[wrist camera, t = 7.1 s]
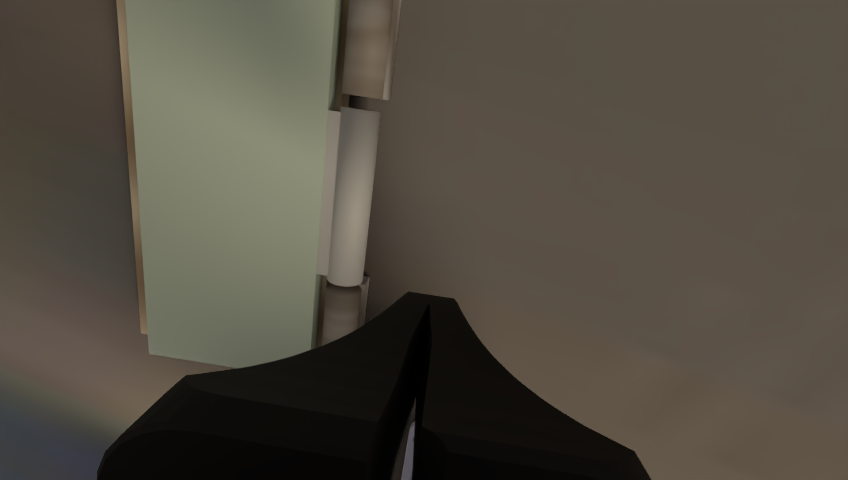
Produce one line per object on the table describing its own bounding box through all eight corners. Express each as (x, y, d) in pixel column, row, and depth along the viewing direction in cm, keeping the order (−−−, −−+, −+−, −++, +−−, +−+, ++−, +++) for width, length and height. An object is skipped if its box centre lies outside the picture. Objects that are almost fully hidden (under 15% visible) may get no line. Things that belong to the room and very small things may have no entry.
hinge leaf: (355, 369, 21) (348, 390, 20) (166, 339, 21) (144, 357, 20) (400, -34, 16) (394, -49, 14) (145, -72, 16) (112, -91, 14)
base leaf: (360, 359, 22) (347, 390, 20) (157, 321, 23) (119, 348, 20) (404, -26, 17) (393, -49, 14) (134, -63, 17) (78, -93, 15)
